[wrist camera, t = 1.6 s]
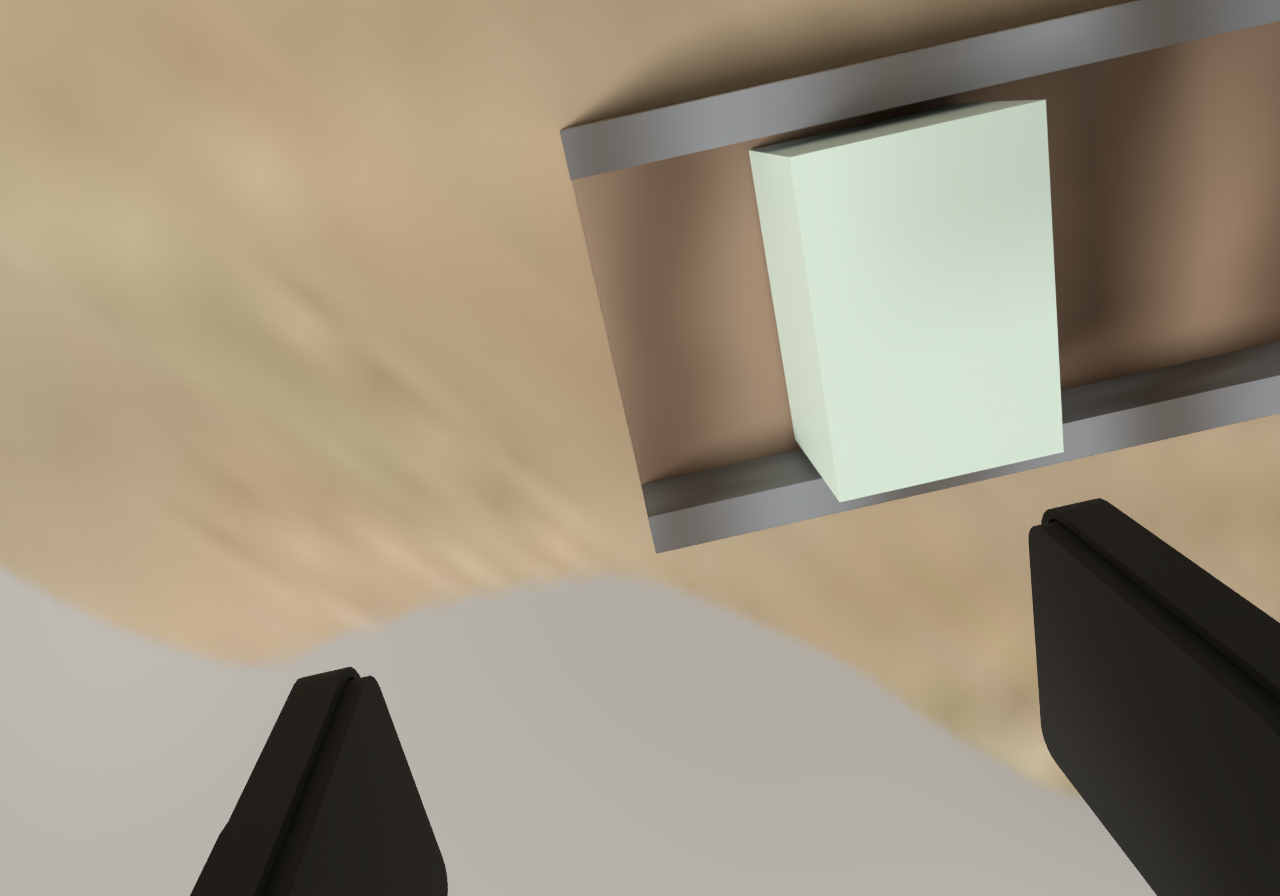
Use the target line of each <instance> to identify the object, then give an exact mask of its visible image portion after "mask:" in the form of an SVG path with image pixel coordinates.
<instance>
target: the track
mask: <svg viewBox="0 0 1280 896" xmlns="http://www.w3.org/2000/svg"><path fill="white" fill-rule="evenodd" d="M1021 100H1046V112H1047V132H1048V152H1049V171H1050V191H1051V211H1052V230H1053V250H1054V269H1055V289H1056V309H1057V328H1058V348H1059V367H1060V387H1061V407H1062V426H1063V446H1064V452H1061V453H1057V454H1053V455H1048V456H1044V457H1039V458H1035V459H1030V460H1026V461H1021V462H1017V463H1013V464H1008V465H1004V466H999V467H995V468H990V469H986V470H981V471H977V472H973V473H968V474H964V475H959V476H955V477H950V478H946V479H941V480H937V481H933V482H928V483H924V484H919V485H915V486H910V487H906V488H901V489H897V490H893V491H888V492H884V493H879V494H875V495H870V496H866V497H861V498H857V499H853V500H848V501H844V502H839V501H838V499H837V498H836V496H835V495H834V494H833V492H832V491H831V489H830V488H829V486H828V485H827V484H826V482H825V481H824V479H823V478H822V477H821V475H820V474H819V472H818V471H817V470H816V468H815V467H814V465H813V464H812V463H811V461H810V460H809V458H808V457H807V456H806V454H805V453H804V451H803V450H802V448H801V447H800V446H799V444H798V443H797V441H796V440H795V436H794V429H793V423H792V417H791V411H790V405H789V398H788V392H787V386H786V380H785V374H784V367H783V361H782V355H781V349H780V343H779V336H778V330H777V324H776V318H775V311H774V305H773V299H772V293H771V287H770V280H769V274H768V268H767V262H766V256H765V249H764V243H763V237H762V231H761V225H760V218H759V212H758V206H757V200H756V193H755V187H754V181H753V175H752V169H751V162H750V156H749V150H752V149H756V148H760V147H765V146H769V145H774V144H778V143H783V142H787V141H792V140H796V139H800V138H805V137H809V136H814V135H818V134H823V133H827V132H831V131H836V130H840V129H845V128H849V127H854V126H858V125H863V124H867V123H871V122H876V121H880V120H885V119H889V118H894V117H898V116H902V115H907V114H911V113H916V112H920V111H925V110H929V109H934V108H938V107H942V106H947V105H951V104H956V103H970V102H996V101H1021ZM560 134H561V139H562V143H563V148H564V152H565V156H566V161H567V165H568V169H569V174H570V178H571V180H572V183H573V187H574V192H575V196H576V200H577V205H578V209H579V214H580V218H581V222H582V227H583V231H584V235H585V240H586V244H587V249H588V253H589V257H590V262H591V266H592V271H593V275H594V279H595V284H596V288H597V292H598V297H599V301H600V306H601V310H602V314H603V319H604V323H605V327H606V332H607V336H608V341H609V345H610V349H611V354H612V358H613V362H614V367H615V371H616V376H617V380H618V384H619V389H620V393H621V398H622V402H623V406H624V411H625V415H626V419H627V424H628V428H629V433H630V437H631V441H632V446H633V450H634V454H635V459H636V463H637V468H638V472H639V476H640V481H641V485H642V490H643V495H644V500H645V505H646V510H647V515H648V519H649V524H650V528H651V532H652V537H653V541H654V546H655V550H656V554H657V553H661V552H666V551H670V550H675V549H679V548H683V547H688V546H692V545H697V544H701V543H706V542H710V541H715V540H719V539H723V538H728V537H732V536H737V535H741V534H746V533H750V532H755V531H759V530H763V529H768V528H772V527H777V526H781V525H786V524H790V523H795V522H799V521H804V520H808V519H812V518H817V517H821V516H826V515H830V514H835V513H839V512H844V511H848V510H852V509H857V508H861V507H866V506H870V505H875V504H879V503H884V502H888V501H892V500H897V499H901V498H906V497H910V496H915V495H919V494H924V493H928V492H932V491H937V490H941V489H946V488H950V487H955V486H959V485H964V484H968V483H972V482H977V481H981V480H986V479H990V478H995V477H999V476H1004V475H1008V474H1012V473H1017V472H1021V471H1026V470H1030V469H1035V468H1039V467H1044V466H1048V465H1053V464H1057V463H1061V462H1066V461H1070V460H1075V459H1079V458H1084V457H1088V456H1093V455H1097V454H1101V453H1106V452H1110V451H1115V450H1119V449H1124V448H1128V447H1133V446H1137V445H1141V444H1146V443H1150V442H1155V441H1159V440H1164V439H1168V438H1173V437H1177V436H1181V435H1186V434H1190V433H1195V432H1199V431H1204V430H1208V429H1213V428H1217V427H1221V426H1226V425H1230V424H1235V423H1239V422H1244V421H1248V420H1253V419H1257V418H1262V417H1266V416H1270V415H1275V414H1279V413H1280V0H1133V1H1129V2H1125V3H1120V4H1116V5H1111V6H1107V7H1102V8H1098V9H1094V10H1089V11H1085V12H1080V13H1076V14H1071V15H1067V16H1062V17H1058V18H1054V19H1049V20H1045V21H1040V22H1036V23H1031V24H1027V25H1023V26H1018V27H1014V28H1009V29H1005V30H1000V31H996V32H991V33H987V34H983V35H978V36H974V37H969V38H965V39H960V40H956V41H952V42H947V43H943V44H938V45H934V46H929V47H925V48H921V49H916V50H912V51H907V52H903V53H898V54H894V55H889V56H885V57H881V58H876V59H872V60H867V61H863V62H858V63H854V64H850V65H845V66H841V67H836V68H832V69H827V70H823V71H818V72H814V73H810V74H805V75H801V76H796V77H792V78H787V79H783V80H779V81H774V82H770V83H765V84H761V85H756V86H752V87H748V88H743V89H739V90H734V91H730V92H725V93H721V94H716V95H712V96H708V97H703V98H699V99H694V100H690V101H685V102H681V103H677V104H672V105H668V106H663V107H659V108H654V109H650V110H645V111H641V112H637V113H632V114H628V115H623V116H619V117H614V118H610V119H606V120H601V121H597V122H592V123H588V124H583V125H579V126H575V127H570V128H566V129H561V130H560Z"/></svg>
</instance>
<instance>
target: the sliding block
mask: <svg viewBox="0 0 1280 896" xmlns="http://www.w3.org/2000/svg"><path fill="white" fill-rule="evenodd" d="M749 156H750V162H751V169H752V175H753V181H754V187H755V193H756V200H757V206H758V212H759V218H760V225H761V231H762V237H763V243H764V249H765V256H766V262H767V268H768V274H769V280H770V287H771V293H772V299H773V305H774V311H775V318H776V324H777V330H778V336H779V343H780V349H781V355H782V361H783V367H784V374H785V380H786V386H787V392H788V398H789V405H790V411H791V417H792V423H793V429H794V436H795V440H796V441H797V443H798V444H799V446H800V447H801V448H802V450H803V451H804V453H805V454H806V456H807V457H808V458H809V460H810V461H811V463H812V464H813V465H814V467H815V468H816V470H817V471H818V472H819V474H820V475H821V477H822V478H823V479H824V481H825V482H826V484H827V485H828V486H829V488H830V489H831V491H832V492H833V494H834V495H835V496H836V498H837V499H838V501H839V502H844V501H848V500H853V499H857V498H861V497H866V496H870V495H875V494H879V493H884V492H888V491H893V490H897V489H901V488H906V487H910V486H915V485H919V484H924V483H928V482H933V481H937V480H941V479H946V478H950V477H955V476H959V475H964V474H968V473H973V472H977V471H981V470H986V469H990V468H995V467H999V466H1004V465H1008V464H1013V463H1017V462H1021V461H1026V460H1030V459H1035V458H1039V457H1044V456H1048V455H1053V454H1057V453H1061V452H1064V446H1063V426H1062V407H1061V387H1060V367H1059V348H1058V328H1057V309H1056V289H1055V269H1054V250H1053V230H1052V211H1051V191H1050V171H1049V152H1048V132H1047V112H1046V100H1021V101H996V102H970V103H956V104H951V105H947V106H942V107H938V108H934V109H929V110H925V111H920V112H916V113H911V114H907V115H902V116H898V117H894V118H889V119H885V120H880V121H876V122H871V123H867V124H863V125H858V126H854V127H849V128H845V129H840V130H836V131H831V132H827V133H823V134H818V135H814V136H809V137H805V138H800V139H796V140H792V141H787V142H783V143H778V144H774V145H769V146H765V147H760V148H756V149H752V150H749Z"/></svg>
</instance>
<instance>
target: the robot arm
mask: <svg viewBox="0 0 1280 896" xmlns="http://www.w3.org/2000/svg"><path fill="white" fill-rule="evenodd" d="M1029 554H1030V569H1031V584H1032V598H1033V613H1034V628H1035V643H1036V657H1037V672H1038V687H1039V702H1040V716H1041V727H1042V733H1043V736H1044V740H1045V743H1046V745H1047V748H1048V750H1049V752H1050V754H1051V756H1052V758H1053V759H1054V761H1055V762H1056V763H1057V765H1058V766H1059V767H1060V769H1061V770H1062V771H1063V773H1064V774H1065V775H1066V777H1067V778H1068V779H1069V781H1070V782H1071V783H1072V784H1073V786H1074V787H1075V788H1076V790H1077V791H1078V792H1079V794H1080V795H1081V796H1082V798H1083V799H1084V800H1085V801H1086V803H1087V804H1088V805H1089V807H1090V808H1091V809H1092V811H1093V812H1094V813H1095V815H1096V816H1097V817H1098V819H1099V820H1100V821H1101V822H1102V824H1103V825H1104V826H1105V828H1106V829H1107V830H1108V832H1109V833H1110V834H1111V836H1112V837H1113V838H1114V840H1115V841H1116V842H1117V843H1118V845H1119V846H1120V847H1121V849H1122V850H1123V851H1124V853H1125V854H1126V855H1127V857H1128V858H1129V859H1130V861H1131V862H1132V863H1133V864H1134V866H1135V867H1136V868H1137V870H1138V871H1139V872H1140V874H1141V875H1142V876H1143V878H1144V879H1145V880H1146V881H1147V883H1148V884H1149V885H1150V887H1151V888H1152V889H1153V891H1154V892H1155V893H1156V895H1157V896H1280V623H1279V622H1277V621H1276V620H1274V619H1273V618H1272V617H1270V616H1269V615H1267V614H1266V613H1265V612H1263V611H1262V610H1260V609H1259V608H1257V607H1256V606H1255V605H1253V604H1252V603H1250V602H1249V601H1248V600H1246V599H1245V598H1243V597H1242V596H1240V595H1239V594H1238V593H1236V592H1235V591H1233V590H1232V589H1231V588H1229V587H1228V586H1226V585H1225V584H1223V583H1222V582H1221V581H1219V580H1218V579H1216V578H1215V577H1214V576H1212V575H1211V574H1209V573H1208V572H1206V571H1205V570H1204V569H1202V568H1201V567H1199V566H1198V565H1197V564H1195V563H1194V562H1192V561H1191V560H1189V559H1188V558H1187V557H1185V556H1184V555H1182V554H1181V553H1180V552H1178V551H1177V550H1175V549H1174V548H1172V547H1171V546H1170V545H1168V544H1167V543H1165V542H1164V541H1162V540H1161V539H1160V538H1158V537H1157V536H1155V535H1154V534H1153V533H1151V532H1150V531H1148V530H1147V529H1145V528H1144V527H1143V526H1141V525H1140V524H1138V523H1137V522H1136V521H1134V520H1133V519H1131V518H1130V517H1128V516H1127V515H1126V514H1124V513H1123V512H1121V511H1120V510H1119V509H1117V508H1116V507H1114V506H1113V505H1111V504H1110V503H1109V502H1107V501H1105V500H1103V499H1101V498H1099V499H1093V500H1088V501H1084V502H1079V503H1075V504H1071V505H1066V506H1062V507H1057V508H1053V509H1048V510H1047V511H1046V512H1045V513H1044V514H1043V518H1042V524H1041V525H1037V526H1033V527H1032V528H1031V529H1030V532H1029ZM447 893H448V883H447V874H446V868H445V864H444V861H443V858H442V855H441V852H440V849H439V847H438V844H437V842H436V839H435V836H434V833H433V831H432V828H431V825H430V822H429V820H428V817H427V814H426V811H425V809H424V806H423V804H422V801H421V798H420V795H419V793H418V790H417V787H416V784H415V781H414V779H413V776H412V774H411V771H410V768H409V765H408V762H407V760H406V757H405V754H404V752H403V749H402V747H401V743H400V741H399V738H398V735H397V733H396V730H395V727H394V724H393V722H392V719H391V717H390V714H389V711H388V708H387V706H386V703H385V700H384V697H383V695H382V692H381V689H380V687H379V685H378V683H377V681H376V680H375V678H374V677H372V676H368V677H363V678H360V676H359V674H358V673H357V671H356V670H355V669H354V668H352V667H347V668H343V669H338V670H334V671H329V672H325V673H320V674H316V675H312V676H307V677H303V678H300V679H298V680H297V681H296V683H295V684H294V686H293V688H292V690H291V692H290V694H289V696H288V698H287V701H286V702H285V705H284V707H283V709H282V711H281V713H280V715H279V717H278V719H277V721H276V723H275V726H274V727H273V730H272V732H271V734H270V736H269V738H268V740H267V743H266V744H265V747H264V748H263V751H262V752H261V755H260V757H259V759H258V761H257V763H256V765H255V767H254V769H253V771H252V773H251V776H250V778H249V780H248V782H247V784H246V786H245V788H244V790H243V792H242V794H241V796H240V798H239V800H238V803H237V805H236V807H235V809H234V811H233V813H232V815H231V817H230V819H229V821H228V823H227V824H226V826H225V827H224V829H223V830H222V832H221V833H220V835H219V837H218V839H217V841H216V843H215V845H214V847H213V850H212V852H211V854H210V856H209V858H208V860H207V862H206V864H205V866H204V868H203V870H202V872H201V874H200V876H199V878H198V880H197V883H196V885H195V887H194V889H193V891H192V893H191V895H190V896H447Z"/></svg>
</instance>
